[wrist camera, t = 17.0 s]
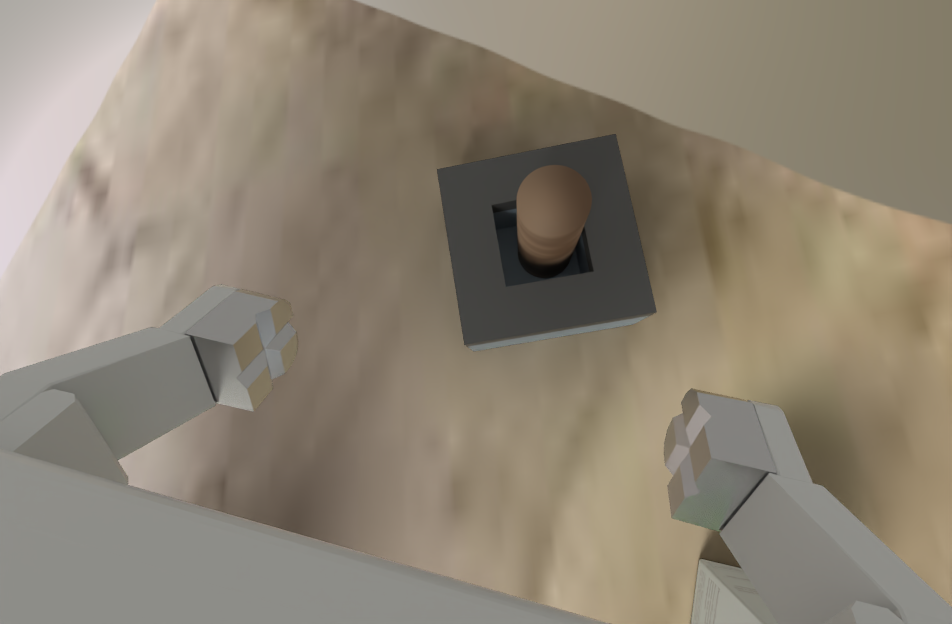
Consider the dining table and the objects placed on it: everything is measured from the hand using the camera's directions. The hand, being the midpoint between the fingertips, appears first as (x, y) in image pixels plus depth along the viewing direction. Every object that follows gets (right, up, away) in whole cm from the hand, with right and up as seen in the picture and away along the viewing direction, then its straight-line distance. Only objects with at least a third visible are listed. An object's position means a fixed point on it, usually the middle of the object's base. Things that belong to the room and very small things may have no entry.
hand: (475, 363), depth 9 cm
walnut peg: (+5, +6, +25) cm, 26 cm away
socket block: (+5, +5, +26) cm, 27 cm away
